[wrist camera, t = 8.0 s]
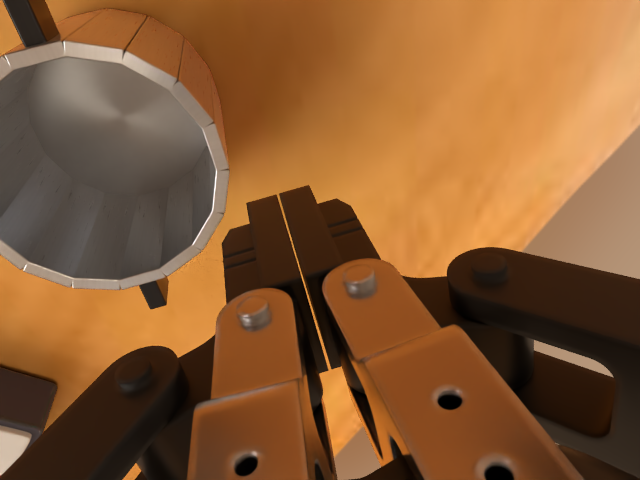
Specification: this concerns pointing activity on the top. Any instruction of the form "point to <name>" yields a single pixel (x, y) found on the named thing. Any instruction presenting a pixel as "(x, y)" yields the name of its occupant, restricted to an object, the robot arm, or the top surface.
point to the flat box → (22, 413)
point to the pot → (107, 150)
